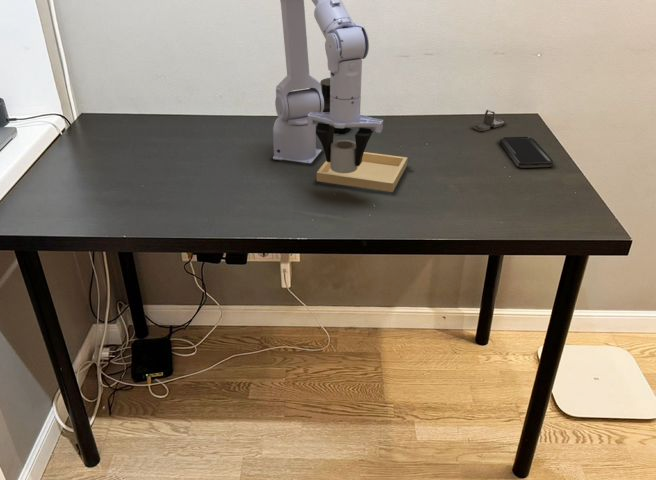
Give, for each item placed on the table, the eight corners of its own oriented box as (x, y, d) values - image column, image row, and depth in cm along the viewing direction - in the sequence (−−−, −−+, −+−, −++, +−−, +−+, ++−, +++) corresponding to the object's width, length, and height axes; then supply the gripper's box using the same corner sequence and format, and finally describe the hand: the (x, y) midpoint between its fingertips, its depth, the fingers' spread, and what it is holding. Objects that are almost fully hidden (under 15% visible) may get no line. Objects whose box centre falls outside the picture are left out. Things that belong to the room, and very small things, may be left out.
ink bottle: (319, 120, 170) (319, 75, 163) (353, 122, 168) (354, 76, 162) (313, 134, 162) (312, 87, 155) (348, 136, 161) (349, 88, 154)
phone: (531, 136, 155) (554, 162, 143) (530, 141, 156) (553, 167, 143) (498, 137, 155) (518, 163, 143) (498, 142, 156) (518, 168, 143)
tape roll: (326, 171, 128) (327, 148, 125) (335, 160, 132) (335, 137, 129) (353, 175, 126) (353, 151, 124) (360, 164, 130) (361, 141, 128)
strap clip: (495, 121, 167) (498, 105, 165) (504, 125, 165) (507, 108, 163) (471, 128, 163) (473, 112, 161) (480, 132, 161) (482, 115, 159)
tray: (316, 183, 139) (316, 172, 138) (335, 158, 150) (335, 148, 148) (392, 194, 134) (393, 183, 133) (406, 168, 145) (407, 157, 143)
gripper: (301, 97, 120) (302, 165, 128) (377, 105, 116) (374, 175, 123) (314, 86, 126) (314, 151, 133) (387, 93, 121) (383, 160, 129)
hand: (343, 162), depth 129 cm, fingers closed on tape roll, 5 cm apart
